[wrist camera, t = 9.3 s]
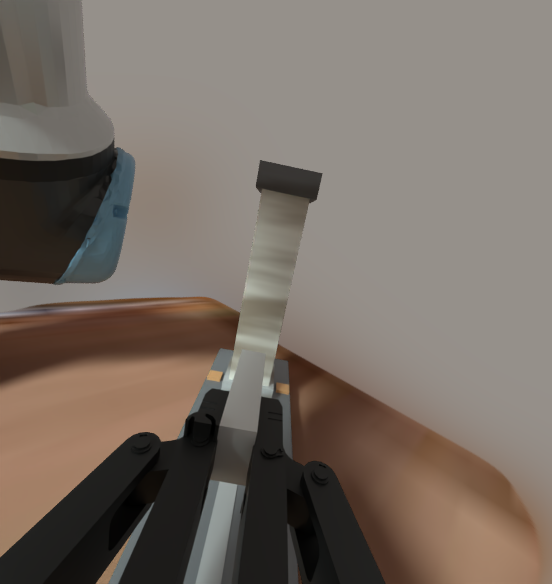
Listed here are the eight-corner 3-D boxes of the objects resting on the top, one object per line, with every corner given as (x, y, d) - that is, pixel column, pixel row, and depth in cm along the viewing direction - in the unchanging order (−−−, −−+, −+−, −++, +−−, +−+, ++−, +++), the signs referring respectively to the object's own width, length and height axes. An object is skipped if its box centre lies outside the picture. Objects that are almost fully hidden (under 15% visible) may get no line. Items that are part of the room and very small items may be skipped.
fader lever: (271, 400, 27) (322, 173, 22) (220, 391, 27) (260, 160, 22) (272, 373, 32) (315, 181, 27) (230, 365, 32) (264, 171, 26)
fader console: (292, 712, 12) (304, 680, 11) (76, 680, 11) (76, 644, 11) (284, 374, 37) (288, 359, 36) (218, 361, 36) (220, 346, 36)
